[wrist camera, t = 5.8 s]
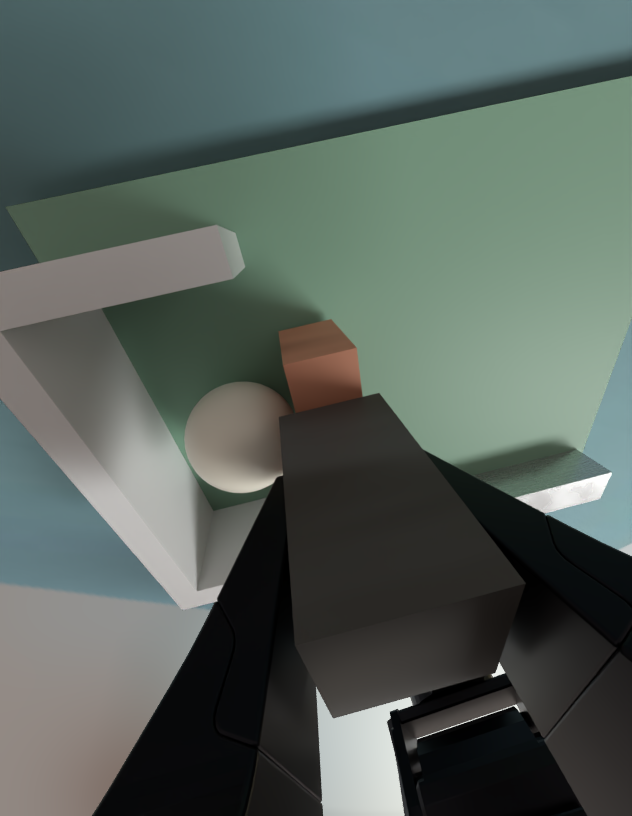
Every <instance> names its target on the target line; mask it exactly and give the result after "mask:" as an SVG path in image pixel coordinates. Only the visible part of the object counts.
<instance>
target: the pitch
mask: <svg viewBox="0 0 632 816" xmlns="http://www.w3.org/2000/svg"><path fill="white" fill-rule="evenodd" d="M5 208H6V209H7V211H8V212H9V214H10V216H11V217H12V219H13V221H14V222H15V224H16V226H17V227H18V229H19V230H20V232H21V234H22V235H23V237H24V239H25V240H26V242H27V243H28V245H29V247H30V248H31V250H32V252H33V253H34V255H35V257H36V258H37V260H38V261H39V263H43V262H48V261H52V260H57V259H62V258H66V257H71V256H75V255H80V254H85V253H89V252H94V251H98V250H103V249H108V248H112V247H117V246H121V245H126V244H131V243H135V242H140V241H144V240H149V239H154V238H158V237H163V236H168V235H172V234H177V233H181V232H186V231H191V230H195V229H200V228H204V227H209V226H214V225H218V226H220V227H223V228H225V229H227V230H230V231H232V232H234V233H236V236H237V240H238V243H239V247H240V251H241V254H242V258H243V261H244V265H245V268H244V269H243V270H242V271H241V272H240V273H239V274H238V275H237V276H236V277H235V278H234V279H230V280H226V281H221V282H217V283H212V284H208V285H203V286H199V287H194V288H190V289H185V290H181V291H176V292H172V293H168V294H163V295H159V296H154V297H150V298H145V299H141V300H136V301H132V302H127V303H123V304H118V305H114V306H109V307H105V308H101V309H102V311H103V312H104V314H105V316H106V318H107V320H108V321H109V323H110V325H111V327H112V329H113V331H114V332H115V334H116V336H117V338H118V340H119V341H120V343H121V345H122V347H123V349H124V350H125V352H126V354H127V356H128V358H129V359H130V361H131V363H132V365H133V367H134V368H135V370H136V372H137V374H138V376H139V377H140V379H141V381H142V383H143V385H144V387H145V388H146V390H147V392H148V394H149V396H150V397H151V399H152V401H153V403H154V405H155V406H156V408H157V410H158V412H159V414H160V415H161V417H162V419H163V421H164V423H165V424H166V426H167V428H168V430H169V432H170V433H171V435H172V437H173V439H174V441H175V443H176V444H177V446H178V448H179V450H180V452H181V453H182V455H183V457H184V459H185V461H186V462H187V464H188V466H189V468H190V470H191V471H192V473H193V475H194V477H195V479H196V480H197V482H198V484H199V486H200V488H201V489H202V491H203V493H204V495H205V497H206V499H207V500H208V502H209V504H210V506H211V508H212V509H213V511H215V510H219V509H223V508H227V507H231V506H235V505H239V504H243V503H247V502H251V501H255V500H259V499H263V498H266V497H267V495H268V493H269V491H270V489H271V487H272V485H273V483H272V484H271V485H269V486H267V487H265V488H263V489H260V490H257V491H254V492H248V493H232V492H227V491H223V490H220V489H218V488H216V487H214V486H212V485H210V484H208V483H207V482H206V481H204V480H203V479H202V478H201V477H200V476H199V475H198V474H197V473H196V472H195V470H194V469H193V467H192V465H191V464H190V462H189V459H188V457H187V453H186V450H185V442H184V436H185V428H186V424H187V420H188V418H189V416H190V413H191V411H192V410H193V408H194V407H195V405H196V404H197V403H198V402H199V401H200V400H201V398H202V397H204V396H205V395H206V394H207V393H209V392H210V391H212V390H213V389H215V388H217V387H219V386H222V385H224V384H228V383H233V382H245V381H247V382H254V383H258V384H262V385H264V386H267V387H269V388H271V389H273V390H274V391H276V392H277V393H278V394H280V395H281V396H282V397H283V398H284V399H285V400H286V401H287V403H288V404H289V405H290V407H291V409H292V410H293V412H294V413H296V412H295V408H294V405H293V401H292V397H291V393H290V390H289V386H288V382H287V378H286V375H285V371H284V367H283V361H282V354H281V347H280V340H279V332H278V331H282V330H286V329H291V328H295V327H299V326H303V325H308V324H312V323H316V322H321V321H325V320H329V319H332V321H333V322H334V323H335V324H336V325H337V326H338V327H339V328H340V330H341V331H342V332H343V333H344V334H345V335H346V336H347V337H348V339H349V340H350V341H351V342H352V343H353V344H354V345H355V346H356V348H357V354H358V362H359V371H360V379H361V387H362V395H363V397H364V396H368V395H372V394H376V393H380V394H381V396H382V397H383V398H384V400H385V401H386V402H387V403H388V405H389V406H390V407H391V409H392V410H393V411H394V413H395V414H396V415H397V416H398V418H399V419H400V420H401V422H402V423H403V424H404V426H405V427H406V428H407V429H408V431H409V432H410V433H411V435H412V436H413V437H414V439H415V440H416V441H417V442H418V444H419V445H420V446H421V448H422V449H423V450H425V451H427V452H429V453H431V454H433V455H435V456H437V457H439V458H440V459H442V460H444V461H446V462H448V463H450V464H452V465H454V466H456V467H458V468H460V469H461V470H463V471H465V472H467V473H469V474H471V475H476V474H480V473H484V472H488V471H492V470H496V469H500V468H504V467H508V466H512V465H516V464H519V463H523V462H527V461H531V460H535V459H539V458H543V457H547V456H551V455H555V454H559V453H563V452H566V451H570V450H574V449H577V450H579V451H580V452H583V449H584V447H585V444H586V441H587V438H588V436H589V433H590V430H591V428H592V425H593V422H594V419H595V417H596V414H597V411H598V409H599V406H600V403H601V400H602V398H603V395H604V392H605V390H606V387H607V384H608V381H609V379H610V376H611V373H612V371H613V368H614V365H615V362H616V360H617V357H618V354H619V352H620V349H621V346H622V343H623V341H624V338H625V335H626V333H627V330H628V327H629V324H630V322H631V319H632V76H629V77H624V78H619V79H615V80H610V81H605V82H600V83H595V84H591V85H586V86H581V87H576V88H572V89H567V90H562V91H557V92H553V93H548V94H543V95H538V96H533V97H529V98H524V99H519V100H514V101H510V102H505V103H500V104H495V105H490V106H486V107H481V108H476V109H471V110H467V111H462V112H457V113H452V114H447V115H443V116H438V117H433V118H428V119H424V120H419V121H414V122H409V123H404V124H400V125H395V126H390V127H385V128H381V129H376V130H371V131H366V132H361V133H357V134H352V135H347V136H342V137H338V138H333V139H328V140H323V141H319V142H314V143H309V144H304V145H299V146H295V147H290V148H285V149H280V150H276V151H271V152H266V153H261V154H256V155H252V156H247V157H242V158H237V159H233V160H228V161H223V162H218V163H213V164H209V165H204V166H199V167H194V168H190V169H185V170H180V171H175V172H170V173H166V174H161V175H156V176H151V177H147V178H142V179H137V180H132V181H127V182H123V183H118V184H113V185H108V186H104V187H99V188H94V189H89V190H85V191H80V192H75V193H70V194H65V195H61V196H56V197H51V198H46V199H42V200H37V201H32V202H27V203H22V204H18V205H13V206H8V207H5Z"/></svg>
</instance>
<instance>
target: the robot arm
mask: <svg viewBox="0 0 632 816" xmlns="http://www.w3.org/2000/svg"><path fill="white" fill-rule="evenodd" d="M424 452H425V453H426V454H427V455H428V457H429V458H430V459H431V461H432V462H433V463H434V465H435V466H436V467H437V468H438V470H439V471H440V472H441V474H442V475H443V476H444V478H445V479H446V480H447V481H448V483H449V484H450V485H451V487H452V488H453V489H454V491H455V492H456V493H457V494H458V496H459V497H460V498H461V500H462V501H463V502H464V504H465V505H466V506H467V507H468V509H469V510H470V511H471V513H472V514H473V515H474V517H475V518H476V519H477V520H478V522H479V523H480V524H481V526H482V527H483V528H484V530H485V531H486V532H487V533H488V535H489V536H490V537H491V539H492V540H493V541H494V543H495V544H496V545H497V546H498V548H499V549H500V550H501V552H502V553H503V554H504V556H505V557H506V558H507V559H508V561H509V562H510V563H511V565H512V566H513V567H514V569H515V570H516V571H517V572H518V574H519V575H520V576H521V578H522V579H523V580H524V582H525V583H526V585H525V587H524V590H523V593H522V596H521V599H520V602H519V605H518V608H517V611H516V614H515V617H514V620H513V623H512V626H511V629H510V631H509V634H508V637H507V640H506V643H505V646H504V649H503V652H502V655H501V658H500V661H499V662H500V664H501V666H502V667H503V669H504V671H505V674H502V675H499V676H496V677H493V676H492V675H491V674H490V675H486V676H482V677H479V678H475V679H472V680H468V681H465V682H461V683H457V684H454V685H450V686H447V687H443V688H440V689H436V690H433V691H429V692H425V693H422V694H418V695H415V696H411V701H412V703H413V706H411V707H408V708H405V709H402V710H398V709H396V710H393V711H391V712H390V716H391V719H390V720H388V722H387V723H388V727H389V731H390V735H391V739H392V743H393V747H394V751H395V756H396V761H397V767H398V773H399V780H400V787H401V794H402V801H403V807H404V813H405V816H632V556H630V555H628V554H626V553H623V552H621V551H619V550H617V549H615V548H613V547H611V546H609V545H606V544H604V543H602V542H600V541H598V540H596V539H594V538H592V537H590V536H588V535H586V534H584V533H582V532H580V531H578V530H576V529H574V528H572V527H570V526H568V525H566V524H564V523H563V522H561V521H559V520H557V519H555V518H553V517H551V516H549V515H547V516H545V514H544V513H543V512H541V511H539V510H538V509H536V508H534V507H532V506H530V505H528V504H526V503H524V502H522V501H520V500H519V499H517V498H515V497H513V496H511V495H509V494H507V493H505V492H503V491H501V490H499V489H498V488H496V487H494V486H492V485H490V484H488V483H486V482H484V481H482V480H480V479H479V478H477V477H475V476H473V475H471V474H469V473H467V472H465V471H463V470H461V469H460V468H458V467H456V466H454V465H452V464H450V463H448V462H446V461H444V460H442V459H440V458H439V457H437V456H435V455H433V454H431V453H429V452H427V451H425V450H424ZM217 601H218V602H215V603H214V605H213V607H212V609H211V611H210V613H209V615H208V617H207V619H206V621H205V623H204V625H203V627H202V629H201V631H200V633H199V635H198V637H197V638H196V640H195V642H194V644H193V646H192V648H191V650H190V652H189V653H188V655H187V657H186V659H185V661H184V662H183V664H182V666H181V668H180V669H179V671H178V673H177V675H176V676H175V678H174V680H173V681H172V683H171V685H170V687H169V689H168V690H167V692H166V694H165V695H164V697H163V699H162V700H161V702H160V704H159V705H158V707H157V709H156V710H155V712H154V714H153V716H152V717H151V719H150V720H149V722H148V724H147V726H146V727H145V729H144V731H143V732H142V734H141V736H140V737H139V739H138V741H137V743H136V744H135V746H134V747H133V749H132V751H131V752H130V754H129V756H128V758H127V759H126V761H125V763H124V764H123V766H122V768H121V769H120V771H119V773H118V774H117V776H116V778H115V779H114V781H113V783H112V785H111V786H110V788H109V789H108V791H107V793H106V794H105V796H104V797H103V799H102V801H101V802H100V804H99V806H98V807H97V809H96V810H95V812H94V813H93V815H92V816H323V809H322V803H320V802H321V801H322V790H321V772H320V753H319V737H318V716H317V698H316V685H315V683H314V681H313V679H312V677H311V675H310V673H309V672H308V670H307V668H306V666H305V664H304V662H303V660H302V658H301V656H300V654H299V652H298V651H297V649H296V647H295V639H294V624H293V610H292V596H291V582H290V568H289V554H288V540H287V526H286V512H285V497H284V483H283V475H282V476H278V477H277V478H276V479H275V481H274V483H273V485H272V487H271V489H270V491H269V493H268V495H267V497H266V499H265V501H264V503H263V505H262V507H261V509H260V512H259V514H258V516H257V518H256V520H255V522H254V524H253V526H252V528H251V530H250V532H249V534H248V536H247V538H246V540H245V542H244V544H243V546H242V548H241V550H240V552H239V554H238V556H237V558H236V560H235V562H234V564H233V566H232V568H231V570H230V573H229V575H228V577H227V579H226V581H225V583H224V585H223V587H222V589H221V591H220V593H219V595H218V597H217ZM515 704H517V706H518V708H519V710H520V713H519V711H518V710H517V709H516V708H515V707H514V706H513V707H511V708H508V709H505V710H502V711H499V712H496V713H493V714H490V715H487V716H484V717H481V718H478V717H480V716H483V715H486V714H489V713H492V712H495V711H498V710H501V709H503V708H506V707H509V706H512V705H515ZM474 718H478V719H475V720H473V721H470V722H467V723H464V724H461V725H458V726H455V727H452V728H449V729H446V730H444V731H440V730H443V729H445V728H448V727H451V726H454V725H457V724H460V723H463V722H466V721H468V720H472V719H474ZM437 731H440V732H437ZM434 732H437V733H435V734H432V735H429V736H426V737H423V738H420V739H416V738H419V737H422V736H425V735H428V734H431V733H434Z"/></svg>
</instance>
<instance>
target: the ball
mask: <svg viewBox="0 0 632 816" xmlns="http://www.w3.org/2000/svg"><path fill="white" fill-rule="evenodd" d="M289 414H294V412H293V410H292V409H291V407H290V405H289V404H288V403H287V401H286V400H285V399H284V398H283V397H282V396H281V395H280V394H278V393H277V392H276V391H274V390H273V389H271V388H269V387H267V386H264V385H262V384H258V383H254V382H247V381H245V382H233V383H228V384H224V385H222V386H219V387H217V388H215V389H213V390H212V391H210V392H209V393H207V394H206V395H205V396H204V397H202V398H201V400H200V401H199V402H198V403H197V404H196V405H195V407H194V408H193V410H192V411H191V413H190V416H189V418H188V420H187V424H186V428H185V436H184V442H185V450H186V453H187V457H188V459H189V462H190V464H191V465H192V467H193V469H194V470H195V472H196V473H197V474H198V475H199V476H200V477H201V478H202V479H203V480H204V481H206V482H207V483H208V484H210V485H212V486H214V487H216V488H218V489H220V490H223V491H227V492H232V493H248V492H254V491H257V490H260V489H263V488H265V487H267V486H269V485H271V484H272V483H274V481H275V479H276V478H277V477H278V476H282V475H283V469H282V455H281V441H280V427H279V417H281V416H285V415H289Z"/></svg>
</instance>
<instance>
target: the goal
mask: <svg viewBox="0 0 632 816" xmlns="http://www.w3.org/2000/svg"><path fill="white" fill-rule="evenodd" d="M244 268H245V265H244V261H243V258H242V254H241V251H240V247H239V243H238V240H237V236H236V233H234V232H232V231H230V230H227V229H225V228H223V227H220V226H218V225H214V226H209V227H204V228H200V229H195V230H191V231H186V232H181V233H177V234H172V235H168V236H163V237H158V238H154V239H149V240H144V241H140V242H135V243H131V244H126V245H121V246H117V247H112V248H108V249H103V250H98V251H94V252H89V253H85V254H80V255H75V256H71V257H66V258H62V259H57V260H52V261H48V262H43V263H38V264H34V265H29V266H25V267H20V268H15V269H11V270H6V271H2V272H0V399H1V400H2V401H3V402H4V404H5V405H6V406H7V407H8V408H9V409H10V410H11V412H12V413H13V414H14V415H15V416H16V417H17V419H18V420H19V421H20V422H21V423H22V424H23V426H24V427H25V428H26V429H27V430H28V431H29V433H30V434H31V435H32V436H33V437H34V438H35V439H36V441H37V442H38V443H39V444H40V445H41V446H42V448H43V449H44V450H45V451H46V452H47V453H48V455H49V456H50V457H51V458H52V459H53V460H54V462H55V463H56V464H57V465H58V466H59V467H60V468H61V470H62V471H63V472H64V473H65V474H66V475H67V477H68V478H69V479H70V480H71V481H72V482H73V484H74V485H75V486H76V487H77V488H78V489H79V491H80V492H81V493H82V494H83V495H84V496H85V497H86V499H87V500H88V501H89V502H90V503H91V504H92V506H93V507H94V508H95V509H96V510H97V511H98V513H99V514H100V515H101V516H102V517H103V518H104V520H105V521H106V522H107V523H108V524H109V525H110V526H111V528H112V529H113V530H114V531H115V532H116V533H117V535H118V536H119V537H120V538H121V539H122V540H123V542H124V543H125V544H126V545H127V546H128V547H129V549H130V550H131V551H132V552H133V553H134V554H135V555H136V557H137V558H138V559H139V560H140V561H141V562H142V564H143V565H144V566H145V567H146V568H147V569H148V571H149V572H150V573H151V574H152V575H153V576H154V577H155V579H156V580H157V581H158V582H159V583H160V584H161V586H162V587H163V588H164V589H165V590H166V591H167V593H168V594H169V595H170V596H171V597H172V598H173V600H174V601H175V602H176V603H177V604H178V605H179V606H180V608H181V609H182V610H186V609H190V608H194V607H197V606H201V605H205V604H209V603H213V602H216V601H217V597H218V595H219V593H220V591H221V589H222V587H223V585H224V583H225V581H226V579H227V577H228V575H229V573H230V570H231V568H232V566H233V564H234V562H235V560H236V558H237V556H238V554H239V552H240V550H241V548H242V546H243V544H244V542H245V540H246V538H247V536H248V534H249V532H250V530H251V528H252V526H253V524H254V522H255V520H256V518H257V516H258V514H259V512H260V509H261V507H262V505H263V503H264V501H265V499H266V498H263V499H259V500H255V501H251V502H247V503H243V504H239V505H235V506H231V507H227V508H223V509H219V510H215V511H213V509H212V508H211V506H210V504H209V502H208V500H207V499H206V497H205V495H204V493H203V491H202V489H201V488H200V486H199V484H198V482H197V480H196V479H195V477H194V475H193V473H192V471H191V470H190V468H189V466H188V464H187V462H186V461H185V459H184V457H183V455H182V453H181V452H180V450H179V448H178V446H177V444H176V443H175V441H174V439H173V437H172V435H171V433H170V432H169V430H168V428H167V426H166V424H165V423H164V421H163V419H162V417H161V415H160V414H159V412H158V410H157V408H156V406H155V405H154V403H153V401H152V399H151V397H150V396H149V394H148V392H147V390H146V388H145V387H144V385H143V383H142V381H141V379H140V377H139V376H138V374H137V372H136V370H135V368H134V367H133V365H132V363H131V361H130V359H129V358H128V356H127V354H126V352H125V350H124V349H123V347H122V345H121V343H120V341H119V340H118V338H117V336H116V334H115V332H114V331H113V329H112V327H111V325H110V323H109V321H108V320H107V318H106V316H105V314H104V312H103V311H102V309H101V308H105V307H109V306H114V305H118V304H123V303H127V302H132V301H136V300H141V299H145V298H150V297H154V296H159V295H163V294H168V293H172V292H176V291H181V290H185V289H190V288H194V287H199V286H203V285H208V284H212V283H217V282H221V281H226V280H230V279H234V278H235V277H236V276H237V275H238V274H239V273H240V272H241V271H242V270H243V269H244Z"/></svg>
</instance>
